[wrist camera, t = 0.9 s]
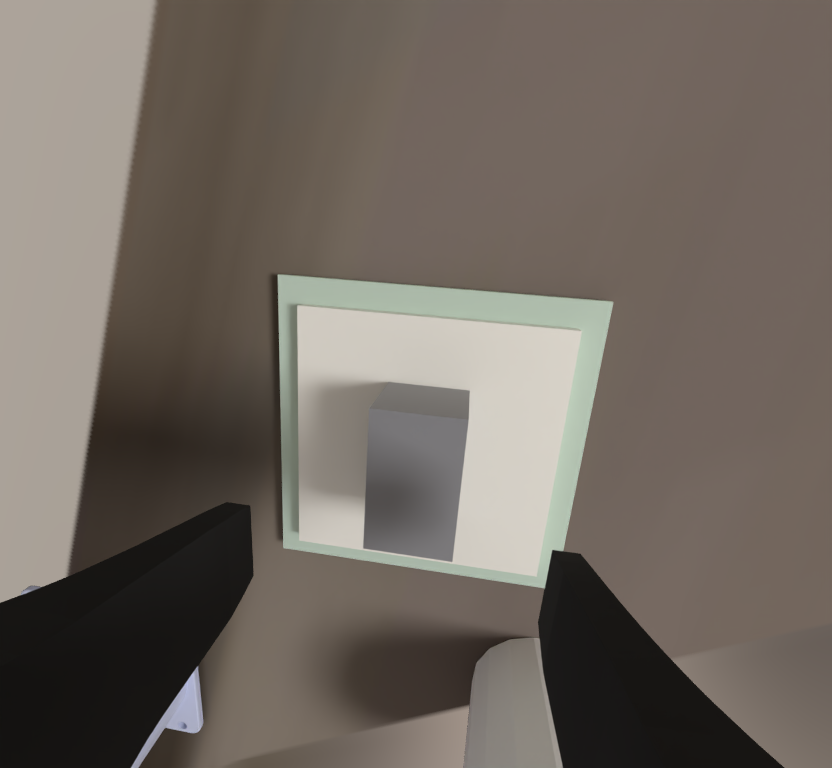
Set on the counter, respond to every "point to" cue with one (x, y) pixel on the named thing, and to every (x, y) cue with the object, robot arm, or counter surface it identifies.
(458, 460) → the lid
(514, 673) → the shot glass
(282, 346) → the mat
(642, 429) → the counter surface
